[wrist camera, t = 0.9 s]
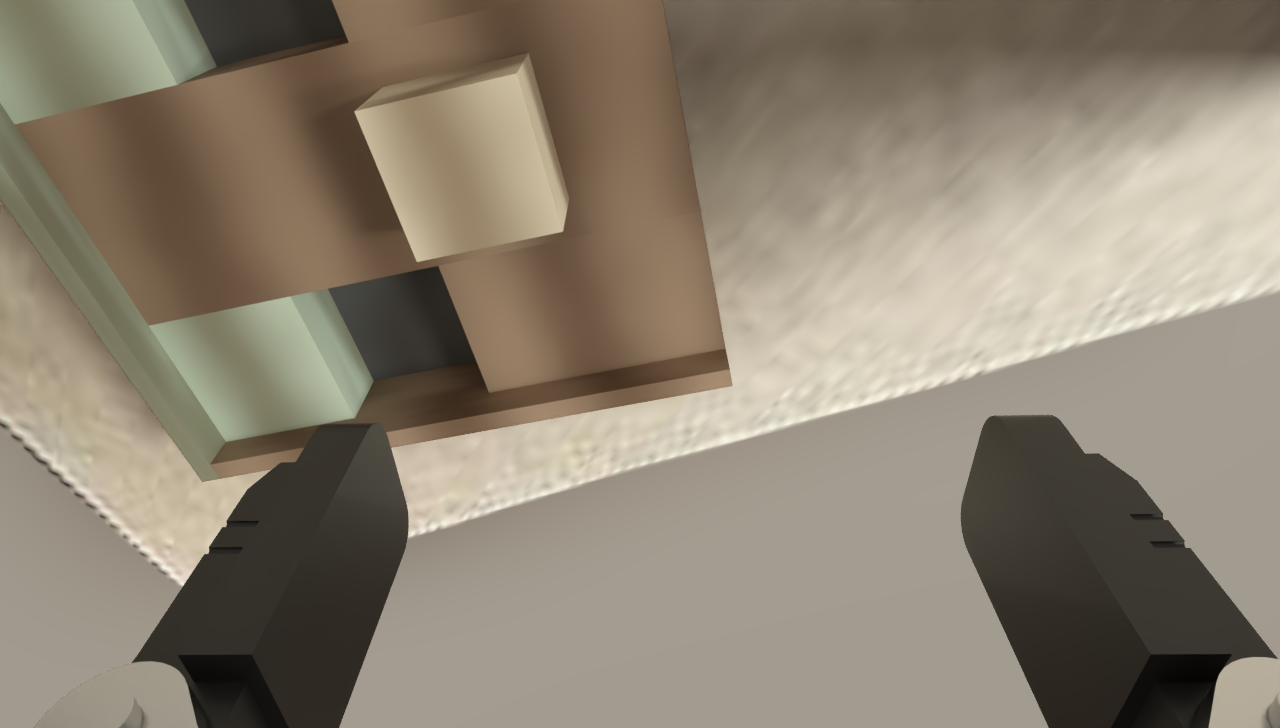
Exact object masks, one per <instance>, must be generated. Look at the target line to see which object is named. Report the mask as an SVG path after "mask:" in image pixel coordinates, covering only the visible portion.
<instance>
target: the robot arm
mask: <svg viewBox="0 0 1280 728" xmlns="http://www.w3.org/2000/svg"><path fill="white" fill-rule="evenodd" d="M961 526H962V533H963V538H964V542H965V545H966V548H967V550H968V552H969V554H970V557H971V559H972V561H973V563H974V565H975V567H976V570H977V572H978V574H979V576H980V579H981V581H982V583H983V585H984V587H985V589H986V592H987V594H988V596H989V598H990V600H991V602H992V605H993V607H994V609H995V611H996V613H997V616H998V618H999V620H1000V622H1001V624H1002V627H1003V629H1004V631H1005V633H1006V635H1007V637H1008V640H1009V642H1010V644H1011V646H1012V648H1013V650H1014V653H1015V655H1016V657H1017V659H1018V661H1019V663H1020V665H1021V668H1022V670H1023V672H1024V674H1025V677H1026V679H1027V681H1028V683H1029V685H1030V688H1031V690H1032V692H1033V694H1034V696H1035V698H1036V701H1037V703H1038V705H1039V707H1040V709H1041V711H1042V714H1043V716H1044V718H1045V720H1046V722H1047V725H1048V727H1049V728H1280V659H1278V658H1277V657H1276V656H1275V655H1274V654H1273V652H1272V651H1271V650H1270V649H1269V647H1268V646H1267V645H1266V643H1265V642H1264V641H1263V640H1262V638H1261V637H1260V636H1259V635H1258V633H1257V632H1256V631H1255V630H1254V628H1253V627H1252V626H1251V625H1250V623H1249V622H1248V621H1247V619H1246V618H1245V617H1244V616H1243V614H1242V613H1241V612H1240V611H1239V609H1238V608H1237V607H1236V605H1235V604H1234V603H1233V602H1232V600H1231V599H1230V598H1229V597H1228V595H1227V594H1226V593H1225V592H1224V590H1223V589H1222V588H1221V587H1220V585H1219V584H1218V583H1217V581H1216V580H1215V579H1214V578H1213V576H1212V575H1211V574H1210V573H1209V571H1208V570H1207V569H1206V567H1204V565H1203V564H1202V562H1201V561H1200V560H1199V559H1198V558H1197V556H1196V555H1195V554H1194V552H1193V551H1192V550H1191V549H1190V548H1185V546H1184V540H1183V538H1182V537H1181V536H1180V535H1179V533H1178V532H1177V531H1176V529H1175V528H1174V527H1173V526H1172V524H1171V523H1170V522H1169V521H1168V520H1164V519H1163V513H1162V512H1161V511H1160V509H1159V508H1158V507H1157V505H1156V504H1155V503H1154V502H1153V500H1152V499H1151V498H1150V497H1149V495H1148V494H1147V493H1146V491H1145V490H1144V489H1143V488H1142V486H1141V485H1140V484H1139V483H1138V481H1136V480H1135V479H1133V478H1132V477H1131V476H1129V475H1128V474H1126V473H1125V472H1124V471H1122V470H1121V469H1120V468H1118V467H1117V466H1115V465H1114V464H1112V463H1111V462H1110V461H1108V460H1107V459H1106V458H1104V457H1103V456H1101V455H1100V454H1085V453H1084V452H1083V450H1082V449H1081V448H1080V446H1079V445H1078V444H1077V442H1076V441H1075V440H1074V438H1073V437H1072V436H1071V434H1070V433H1069V431H1068V430H1067V429H1066V427H1065V426H1064V425H1063V424H1062V422H1061V421H1060V420H1059V419H1058V418H1057V417H1054V416H1053V415H1012V416H991V417H989V418H988V419H987V420H986V422H985V424H984V425H983V428H982V431H981V435H980V438H979V442H978V446H977V449H976V453H975V456H974V460H973V464H972V467H971V471H970V475H969V478H968V482H967V486H966V489H965V493H964V497H963V500H962V506H961ZM407 537H408V510H407V505H406V501H405V497H404V493H403V490H402V486H401V483H400V479H399V475H398V472H397V468H396V465H395V461H394V457H393V454H392V450H391V447H390V443H389V439H388V436H387V433H386V431H385V429H384V427H383V426H382V425H381V424H379V423H350V424H322V425H320V426H319V427H318V428H317V429H316V430H315V431H314V433H313V434H312V436H311V438H310V439H309V441H308V443H307V444H306V446H305V448H304V449H303V451H302V452H301V454H300V456H299V457H298V459H297V461H296V462H281V463H279V464H278V465H277V466H276V467H274V468H273V469H272V470H271V471H270V472H268V473H267V474H266V475H265V476H263V477H262V478H261V479H260V480H259V481H257V482H256V483H255V484H254V485H252V486H251V487H250V488H249V489H247V491H246V492H245V494H244V495H243V497H242V498H241V500H240V501H239V503H238V505H237V506H236V508H235V509H234V511H233V512H232V514H231V515H230V517H229V518H228V520H227V526H226V527H222V529H221V530H220V532H219V533H218V535H217V536H216V538H215V539H214V541H213V542H212V544H211V545H210V547H209V554H204V556H203V557H202V559H201V560H200V562H199V563H198V565H197V566H196V568H195V569H194V571H193V572H192V574H191V575H190V577H189V578H188V580H187V581H186V583H185V584H184V586H183V587H182V589H181V591H180V592H179V593H178V595H177V596H176V598H175V600H174V601H173V602H172V604H171V605H170V607H169V608H168V610H167V612H166V613H165V615H164V616H163V618H162V619H161V621H160V622H159V624H158V625H157V627H156V628H155V630H154V631H153V633H152V634H151V636H150V637H149V639H148V640H147V642H146V643H145V645H144V646H143V648H142V649H141V651H140V652H139V654H138V655H137V657H136V658H135V659H134V661H133V662H132V663H130V664H125V665H122V666H119V667H115V668H113V669H110V670H108V671H105V672H103V673H101V674H98V675H96V676H94V677H93V678H91V679H89V680H87V681H85V682H84V683H82V684H80V685H79V686H78V687H76V688H74V689H73V690H71V691H70V692H69V693H67V694H66V695H65V696H64V697H62V698H61V699H60V700H59V701H58V702H56V703H55V704H54V705H53V706H52V707H51V708H50V709H49V710H48V711H47V712H46V713H45V714H44V716H43V717H42V718H41V719H40V720H39V721H38V722H37V724H36V725H35V727H34V728H339V726H340V724H341V721H342V718H343V715H344V713H345V710H346V707H347V705H348V702H349V699H350V697H351V694H352V691H353V688H354V686H355V683H356V680H357V677H358V675H359V672H360V669H361V667H362V664H363V661H364V659H365V656H366V654H367V651H368V648H369V645H370V643H371V640H372V637H373V635H374V632H375V629H376V627H377V624H378V621H379V619H380V616H381V613H382V611H383V608H384V605H385V602H386V600H387V597H388V594H389V592H390V589H391V586H392V584H393V581H394V578H395V575H396V573H397V570H398V567H399V565H400V562H401V559H402V557H403V554H404V551H405V547H406V543H407Z"/></svg>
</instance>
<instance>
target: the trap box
mask: <svg viewBox="0 0 1280 728" xmlns="http://www.w3.org/2000/svg"><path fill="white" fill-rule="evenodd" d="M525 53H529V56H530V60H531V63H532V67H533V70H534V74H535V77H536V81H537V85H538V88H539V92H540V95H541V99H542V102H543V106H544V110H545V113H546V117H547V120H548V124H549V127H550V131H551V135H552V138H553V142H554V145H555V149H556V152H557V156H558V160H559V163H560V167H561V170H562V174H563V177H564V181H565V185H566V188H567V192H568V195H569V203H568V208H567V213H566V218H565V223H564V229H563V232H559V233H554V234H550V235H545V236H540V237H535V238H530V239H526V240H521V241H516V242H511V243H506V244H502V245H497V246H492V247H487V248H482V249H478V250H473V251H468V252H463V253H458V254H454V255H449V256H444V257H439V258H434V259H430V260H425V261H420V262H417V261H416V259H415V256H414V254H413V252H412V249H411V247H410V244H409V242H408V239H407V237H406V235H405V232H404V230H403V227H402V225H401V223H400V220H399V218H398V215H397V213H396V211H395V208H394V206H393V203H392V201H391V199H390V196H389V194H388V191H387V189H386V187H385V184H384V182H383V179H382V177H381V175H380V172H379V170H378V167H377V165H376V163H375V160H374V158H373V155H372V153H371V151H370V148H369V146H368V143H367V141H366V139H365V136H364V134H363V131H362V129H361V127H360V124H359V122H358V119H357V117H356V115H355V112H354V111H355V110H356V109H357V108H359V107H360V106H361V105H362V104H363V103H364V102H366V101H367V100H368V99H369V98H370V97H372V96H373V95H374V94H375V93H376V92H377V91H379V90H380V89H381V88H382V87H386V86H390V85H394V84H398V83H402V82H407V81H411V80H415V79H419V78H424V77H428V76H432V75H436V74H441V73H445V72H449V71H453V70H458V69H462V68H466V67H470V66H475V65H479V64H483V63H487V62H491V61H496V60H500V59H504V58H508V57H513V56H517V55H521V54H525ZM0 199H1V201H2V202H3V203H4V205H5V206H6V208H7V209H8V210H9V212H10V213H11V215H12V216H13V217H14V219H15V220H16V222H17V223H18V224H19V226H20V227H21V229H22V230H23V231H24V233H25V234H26V236H27V237H28V238H29V240H30V241H31V243H32V244H33V245H34V247H35V248H36V250H37V251H38V252H39V254H40V255H41V257H42V258H43V259H44V261H45V262H46V264H47V265H48V266H49V268H50V269H51V271H52V272H53V273H54V275H55V276H56V278H57V279H58V280H59V282H60V283H61V285H62V286H63V287H64V289H65V290H66V292H67V293H68V294H69V296H70V297H71V299H72V300H73V301H74V303H75V304H76V306H77V307H78V308H79V310H80V311H81V313H82V314H83V315H84V317H85V318H86V320H87V321H88V322H89V324H90V325H91V327H92V328H93V329H94V331H95V332H96V334H97V335H98V336H99V338H100V339H101V341H102V342H103V343H104V345H105V346H106V348H107V349H108V350H109V352H110V353H111V355H112V356H113V357H114V359H115V360H116V362H117V363H118V364H119V366H120V367H121V369H122V370H123V371H124V373H125V374H126V376H127V377H128V378H129V380H130V381H131V383H132V384H133V385H134V387H135V388H136V390H137V391H138V392H139V394H140V395H141V397H142V398H143V399H144V401H145V402H146V404H147V405H148V406H149V408H150V409H151V411H152V412H153V413H154V415H155V416H156V418H157V419H158V420H159V422H160V423H161V425H162V426H163V427H164V429H165V430H166V432H167V433H168V434H169V436H170V437H171V439H172V440H173V441H174V443H175V444H176V446H177V447H178V448H179V450H180V451H181V453H182V454H183V455H184V457H185V458H186V460H187V461H188V462H189V464H190V465H191V467H192V468H193V469H194V471H195V472H196V474H197V475H198V476H199V478H200V479H201V481H202V482H205V481H210V480H216V479H221V478H227V477H232V476H238V475H243V474H249V473H254V472H260V471H265V470H271V469H273V468H274V467H276V466H277V465H278V464H279V463H281V462H296V461H297V459H298V457H299V456H300V454H301V452H302V451H303V449H304V448H305V446H306V444H307V443H308V441H309V439H310V438H311V436H312V434H313V433H314V431H315V430H316V429H317V428H318V427H319V426H320V425H322V424H350V423H379V424H381V425H382V426H383V427H384V429H385V431H386V433H387V436H388V439H389V443H390V447H391V448H392V447H398V446H403V445H409V444H414V443H420V442H426V441H431V440H437V439H442V438H448V437H453V436H459V435H464V434H470V433H475V432H481V431H486V430H492V429H497V428H503V427H508V426H514V425H519V424H525V423H531V422H536V421H542V420H547V419H553V418H558V417H564V416H569V415H575V414H580V413H586V412H591V411H597V410H602V409H608V408H613V407H619V406H624V405H630V404H635V403H641V402H647V401H652V400H658V399H663V398H669V397H674V396H680V395H685V394H691V393H696V392H702V391H707V390H713V389H718V388H724V387H729V386H732V380H731V375H730V369H729V364H728V359H727V354H726V349H725V344H724V338H723V332H722V327H721V321H720V316H719V310H718V305H717V299H716V294H715V288H714V283H713V277H712V272H711V266H710V261H709V255H708V250H707V244H706V239H705V233H704V228H703V222H702V217H701V211H700V206H699V200H698V195H697V189H696V184H695V178H694V173H693V167H692V162H691V156H690V151H689V145H688V140H687V134H686V128H685V123H684V117H683V112H682V106H681V101H680V95H679V90H678V84H677V79H676V73H675V68H674V62H673V57H672V51H671V46H670V40H669V35H668V29H667V24H666V18H665V13H664V7H663V2H662V0H0Z"/></svg>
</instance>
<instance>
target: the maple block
mask: <svg viewBox="0 0 1280 728" xmlns="http://www.w3.org/2000/svg"><path fill="white" fill-rule="evenodd" d="M354 112H355V115H356V117H357V119H358V122H359V124H360V127H361V129H362V131H363V134H364V136H365V139H366V141H367V143H368V146H369V148H370V151H371V153H372V155H373V158H374V160H375V163H376V165H377V167H378V170H379V172H380V175H381V177H382V179H383V182H384V184H385V187H386V189H387V191H388V194H389V196H390V199H391V201H392V203H393V206H394V208H395V211H396V213H397V215H398V218H399V220H400V223H401V225H402V227H403V230H404V232H405V235H406V237H407V239H408V242H409V244H410V247H411V249H412V252H413V254H414V256H415V259H416V261H417V262H420V261H425V260H430V259H434V258H439V257H444V256H449V255H454V254H458V253H463V252H468V251H473V250H478V249H482V248H487V247H492V246H497V245H502V244H506V243H511V242H516V241H521V240H526V239H530V238H535V237H540V236H545V235H550V234H554V233H559V232H563V229H564V223H565V218H566V213H567V208H568V203H569V195H568V192H567V188H566V185H565V181H564V177H563V174H562V170H561V167H560V163H559V160H558V156H557V152H556V149H555V145H554V142H553V138H552V135H551V131H550V127H549V124H548V120H547V117H546V113H545V110H544V106H543V102H542V99H541V95H540V92H539V88H538V85H537V81H536V77H535V74H534V70H533V67H532V63H531V60H530V56H529V53H525V54H521V55H517V56H513V57H508V58H504V59H500V60H496V61H491V62H487V63H483V64H479V65H475V66H470V67H466V68H462V69H458V70H453V71H449V72H445V73H441V74H436V75H432V76H428V77H424V78H419V79H415V80H411V81H407V82H402V83H398V84H394V85H390V86H386V87H382V88H381V89H380V90H379V91H377V92H376V93H375V94H374V95H373V96H372V97H370V98H369V99H368V100H367V101H366V102H364V103H363V104H362V105H361V106H360V107H359V108H357V109H356V110H355V111H354Z"/></svg>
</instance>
